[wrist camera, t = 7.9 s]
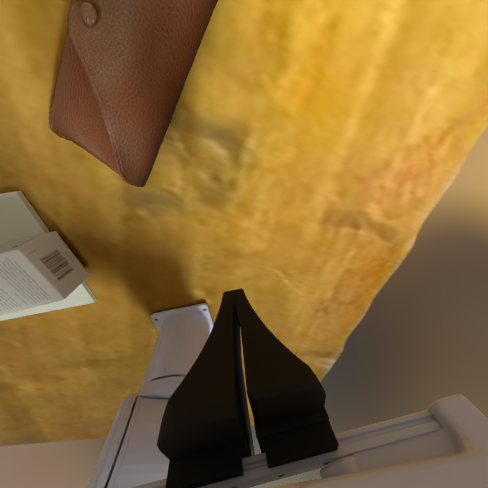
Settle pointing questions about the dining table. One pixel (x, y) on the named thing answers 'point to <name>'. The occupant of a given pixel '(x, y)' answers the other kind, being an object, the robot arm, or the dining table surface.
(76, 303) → the mat
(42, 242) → the skincare box
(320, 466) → the robot arm
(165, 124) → the sunglasses case
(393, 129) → the dining table surface
